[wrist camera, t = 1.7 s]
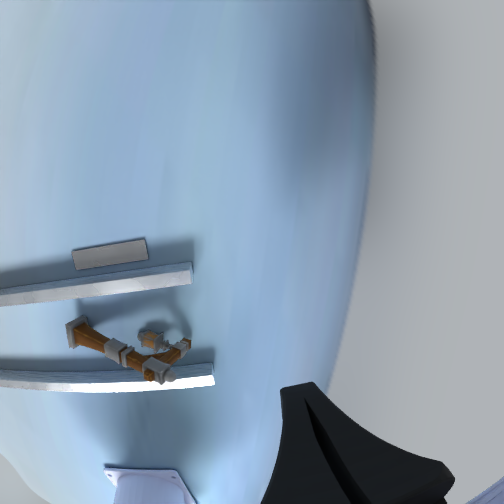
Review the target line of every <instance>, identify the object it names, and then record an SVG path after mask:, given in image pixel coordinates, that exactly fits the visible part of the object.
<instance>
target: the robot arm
mask: <svg viewBox="0 0 504 504" xmlns="http://www.w3.org/2000/svg"><path fill="white" fill-rule="evenodd" d="M280 396H281V408H282V419H283V426H282V434H281V441H280V446H279V451H278V456H277V460H276V463H275V467H274V470H273V473H272V477H271V479H270V482H269V485H268V487H267V490H266V492H265V495H264V497H263V499H262V501H261V504H447V502H446V500H445V499H444V496H445V495H446V494H447V493H448V491H449V490H450V489H451V487H452V486H453V484H454V482H455V477H454V476H453V475H452V473H451V472H450V471H449V469H448V468H447V467H446V466H445V465H444V464H443V463H442V462H441V461H437V460H433V459H429V458H425V457H421V456H418V455H415V454H412V453H410V452H407V451H405V450H403V449H400V448H398V447H396V446H393V445H391V444H389V443H387V442H385V441H384V440H382V439H380V438H378V437H376V436H375V435H373V434H372V433H370V432H368V431H367V430H366V429H364V428H362V427H361V426H359V424H357V423H356V422H354V421H353V420H352V419H351V418H349V417H348V416H347V415H346V414H345V413H344V412H342V411H341V410H340V409H339V408H338V407H337V406H335V404H334V403H332V401H330V399H328V397H327V396H326V395H325V394H324V393H323V392H322V391H321V390H320V389H319V388H318V387H317V386H316V384H315V383H313V382H308V383H304V384H299V385H294V386H289V387H284V388H282V389H281V390H280ZM103 472H104V473H105V474H106V476H107V477H108V478H109V479H110V480H111V482H112V483H113V484H114V485H115V486H116V493H115V499H114V504H196V502H195V501H194V499H193V498H192V496H191V494H190V493H189V491H188V489H187V488H186V486H185V484H184V483H183V481H182V479H181V478H180V476H179V474H178V472H177V471H175V470H136V469H117V468H104V470H103ZM466 504H504V477H502V478H501V479H500V480H499V481H498V482H496V483H495V484H493V485H492V486H491V487H489V488H488V489H486V490H485V491H484V492H482V493H481V494H479V495H478V496H476V497H475V498H473V499H472V500H470V501H469V502H467V503H466Z"/></svg>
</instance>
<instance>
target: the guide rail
mask: <svg viewBox="0 0 504 504" xmlns="http://www.w3.org/2000/svg"><path fill="white" fill-rule="evenodd" d="M72 256H73V260H74V264H75V268H76V270H80V269H87V268H93V267H100V266H106V265H113V264H120V263H126V262H133V261H140V260H146V259H149V257H148V253H147V248H146V243H145V239H142V240H136V241H130V242H124V243H118V244H112V245H106V246H100V247H94V248H89V249H83V250H77V251H72ZM193 275H194V274H193V268H192V263H191V262H185V263H178V264H171V265H164V266H157V267H150V268H143V269H136V270H129V271H122V272H115V273H108V274H101V275H94V276H87V277H81V278H74V279H67V280H60V281H53V282H46V283H39V284H32V285H25V286H18V287H11V288H3V289H0V307H1V306H12V305H21V304H31V303H40V302H50V301H59V300H68V299H76V298H85V297H93V296H102V295H110V294H118V293H126V292H134V291H142V290H149V289H157V288H164V287H172V286H179V285H187V284H192V281H193ZM170 370H172V371H173V372H175V374H176V380H175V381H174V382H172V383H169V382H165V383H164V384H163V385H162V386H161V385H160V384H158V383H157V382H154V381H152V382H149V381H147V380H144V377H143V373H141V372H139V371H137V370H119V371H91V372H45V371H18V370H2V369H0V387H9V388H18V389H30V390H44V391H64V392H129V391H150V390H165V389H178V388H189V387H199V386H208V385H214V369H213V365H212V362H210V363H202V364H194V365H184V366H174V367H170Z"/></svg>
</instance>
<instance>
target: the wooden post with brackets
mask: <svg viewBox="0 0 504 504" xmlns="http://www.w3.org/2000/svg"><path fill="white" fill-rule="evenodd" d="M65 325H66V332H67V338H68V343H69V348H70V347H71V348H73V349H74V348H76V347H77V346H79V345H82V346H86V347H89V348H92V349H95V350H98V351H100V352H102V353H104V354H105V357H107V358H110V359H112V360H114V361H116V362H117V363H118V364H120V363H122V366H124V367H125V368H127V367H128V366H130V367H131V368H133V369H135V370H137V371H139V372H141V373H143V377H144V380H147V381H149V382H152V381H154V382H157V383H158V384H160V385H161V386H162V385H163V384H164V383H165V382H169V383H172V382H174V381H175V380H176V374H175V372H173V371H172V370H170V366H171V365H172V364H173V363H175V362H176V361H177V360H178V359H181V358H182V357H184V356H185V355H186V352H187V351H188V350H189V349H190V348H191V340H189V339H186V338H183V339H182V340H180V342H176V343H175V344H174V345H170V344H169V342H168V340H167V341H166V342H165V340H164V341H163V333H161V334H160V335H158V334H156V333H154V332H151V331H150V330H147V331H145V332H140V333H138V335H137V337H138V340H140V341H141V345H142V347H148V348H152V349H154V353H156V352H157V351H158V350H160V349H162V348H163V351H165V350H166V349H170V350H169V351H167V352H164V353H158V354H152V355H146V356H143V355H141V354H139V353H137V352H136V351H135V349H134V347H132V346H130V347H128V346H127V344H124V343H122V342H119V341H117V340H116V339H115V338H112V339H109V338H107V337H105V336H103V335H102V334H100V333H99V332H97V331H96V330H94V329H93V328H91V327H90V326H89V325H88V322H87V317H85V316H83V315H82V316H80V317H78V318H77V319H75V320H73V321H71V322H69V323H67V324H65ZM171 348H172V349H171Z"/></svg>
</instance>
